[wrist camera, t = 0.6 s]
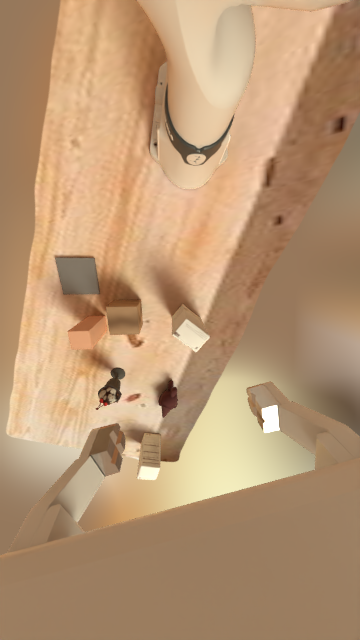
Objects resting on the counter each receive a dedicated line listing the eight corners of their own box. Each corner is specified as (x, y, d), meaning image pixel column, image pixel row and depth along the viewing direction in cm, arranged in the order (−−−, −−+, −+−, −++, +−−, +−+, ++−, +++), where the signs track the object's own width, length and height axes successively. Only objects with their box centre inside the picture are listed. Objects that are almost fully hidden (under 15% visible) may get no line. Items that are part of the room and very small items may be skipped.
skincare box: (200, 317, 55) (213, 336, 41) (189, 330, 57) (197, 354, 43) (181, 302, 53) (187, 317, 39) (169, 316, 54) (171, 336, 40)
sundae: (104, 373, 59) (85, 408, 45) (117, 362, 58) (103, 395, 44) (118, 384, 61) (104, 421, 47) (131, 373, 60) (121, 408, 46)
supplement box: (157, 445, 74) (155, 480, 62) (140, 443, 73) (136, 479, 61) (161, 434, 72) (160, 468, 60) (144, 432, 71) (140, 466, 59)
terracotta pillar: (88, 316, 52) (67, 331, 41) (104, 315, 52) (88, 331, 41) (91, 330, 54) (71, 349, 42) (107, 330, 54) (92, 348, 43)
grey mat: (56, 257, 46) (55, 257, 45) (94, 258, 46) (93, 258, 46) (64, 293, 49) (63, 294, 48) (99, 293, 50) (99, 294, 49)
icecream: (174, 424, 62) (186, 390, 59) (156, 426, 59) (167, 390, 56) (169, 409, 68) (179, 378, 65) (152, 410, 65) (161, 377, 62)
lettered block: (113, 300, 51) (105, 307, 43) (141, 299, 52) (137, 306, 44) (116, 324, 54) (109, 334, 46) (142, 323, 54) (139, 334, 47)
